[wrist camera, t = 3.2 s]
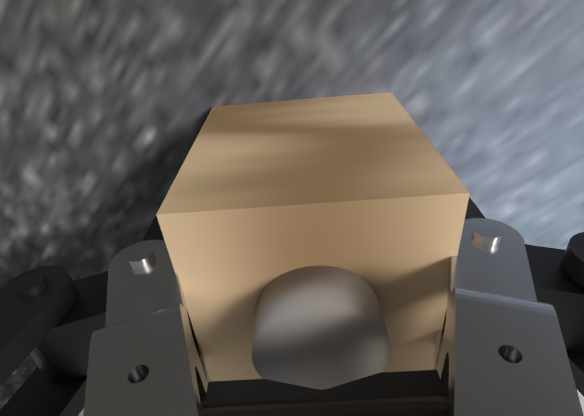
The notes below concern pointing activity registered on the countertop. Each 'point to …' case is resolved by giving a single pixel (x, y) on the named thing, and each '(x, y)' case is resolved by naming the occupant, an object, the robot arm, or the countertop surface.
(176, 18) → the countertop surface
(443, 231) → the wooden block with knob
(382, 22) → the countertop surface
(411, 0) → the countertop surface
